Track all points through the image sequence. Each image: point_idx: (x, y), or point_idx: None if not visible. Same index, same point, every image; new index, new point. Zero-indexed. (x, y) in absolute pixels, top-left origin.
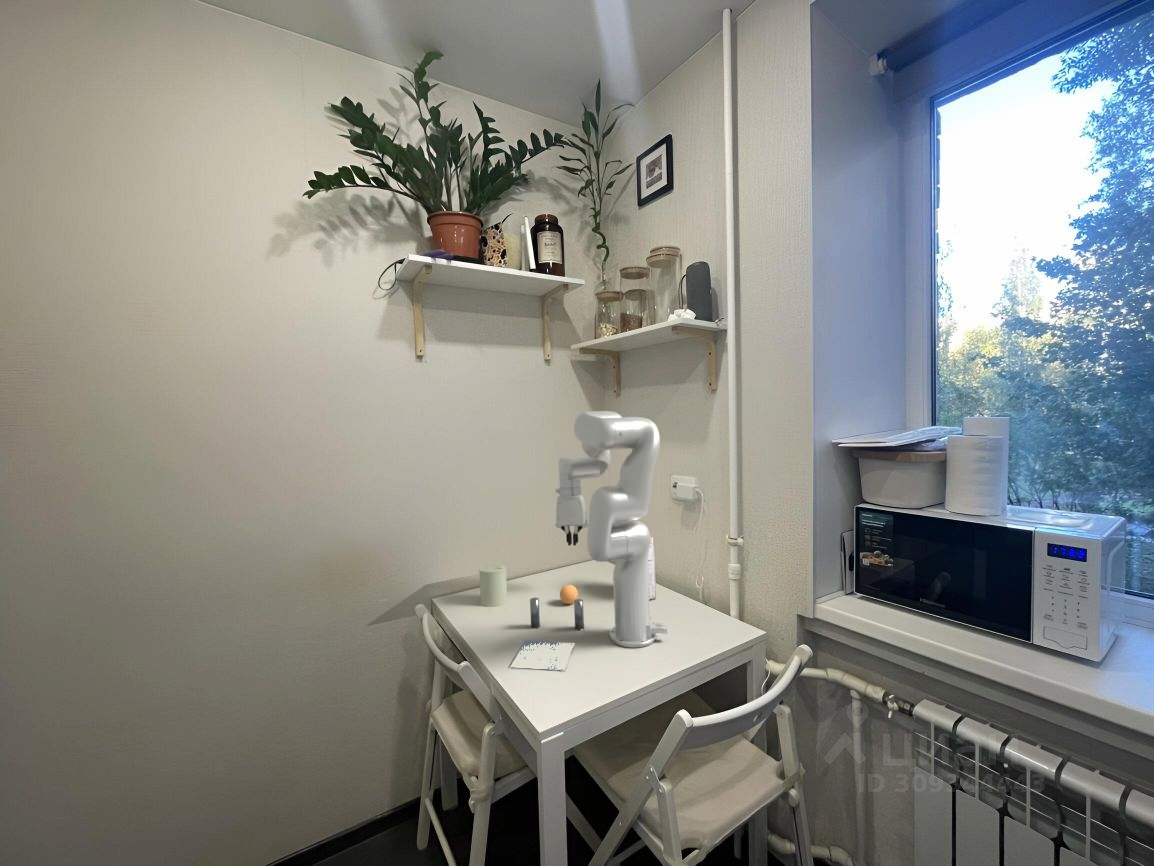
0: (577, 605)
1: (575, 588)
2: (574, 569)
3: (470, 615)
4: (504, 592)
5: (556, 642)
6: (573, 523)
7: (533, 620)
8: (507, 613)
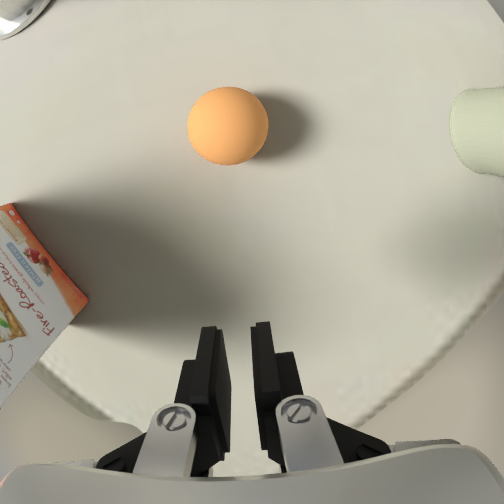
0: None
1: (194, 130)
2: None
3: (485, 35)
4: (471, 114)
5: None
6: (153, 501)
7: None
8: (410, 34)
